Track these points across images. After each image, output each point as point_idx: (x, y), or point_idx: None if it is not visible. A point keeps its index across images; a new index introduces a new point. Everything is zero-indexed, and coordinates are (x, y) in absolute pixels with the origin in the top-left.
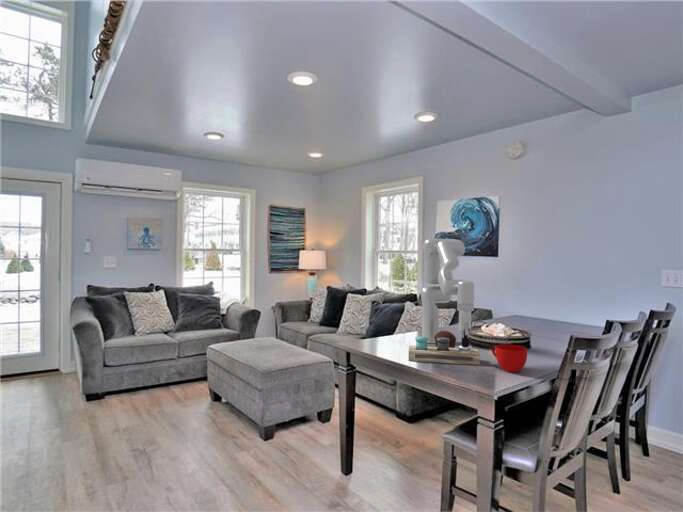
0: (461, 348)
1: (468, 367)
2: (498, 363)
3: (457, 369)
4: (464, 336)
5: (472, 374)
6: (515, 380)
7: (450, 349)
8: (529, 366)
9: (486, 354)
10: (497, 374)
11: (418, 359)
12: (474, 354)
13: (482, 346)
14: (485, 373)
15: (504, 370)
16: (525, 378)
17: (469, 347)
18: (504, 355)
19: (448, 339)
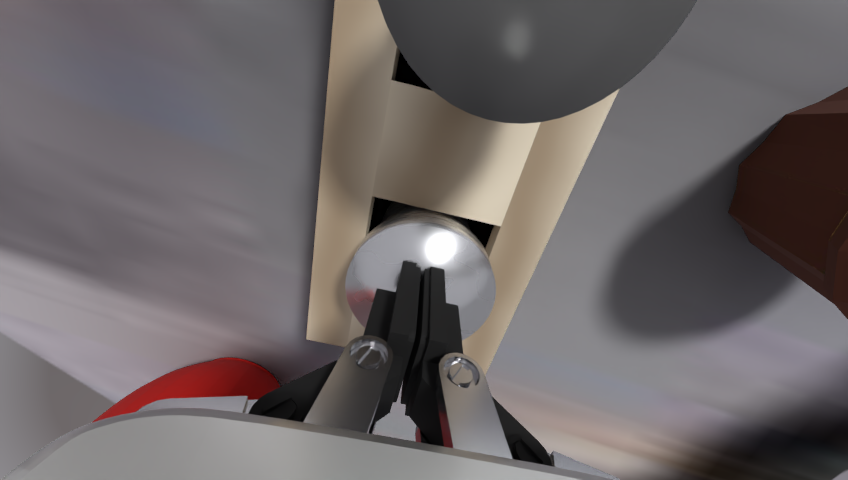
0: (371, 235)
1: (251, 191)
2: (211, 370)
3: (162, 78)
4: (305, 380)
5: (61, 155)
6: (54, 340)
7: (488, 126)
8: None
9: (587, 401)
10: (135, 303)
11: None
12: (312, 301)
13: (784, 445)
14: (129, 249)
15: (217, 359)
16: (116, 387)
17: (355, 316)
18: None
19: (428, 68)
